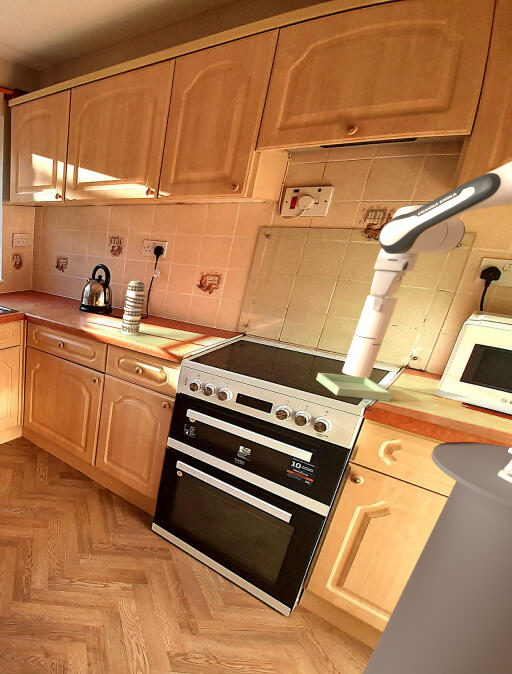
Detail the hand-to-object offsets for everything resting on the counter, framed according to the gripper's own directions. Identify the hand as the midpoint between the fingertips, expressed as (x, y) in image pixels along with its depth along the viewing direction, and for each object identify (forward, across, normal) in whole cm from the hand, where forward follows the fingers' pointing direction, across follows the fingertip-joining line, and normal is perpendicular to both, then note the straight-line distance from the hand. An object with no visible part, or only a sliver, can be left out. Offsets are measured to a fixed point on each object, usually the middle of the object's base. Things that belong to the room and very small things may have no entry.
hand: (378, 309), depth 131 cm
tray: (+27, 0, 0) cm, 27 cm away
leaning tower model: (+27, -6, -89) cm, 94 cm away
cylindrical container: (+21, 0, 0) cm, 21 cm away
